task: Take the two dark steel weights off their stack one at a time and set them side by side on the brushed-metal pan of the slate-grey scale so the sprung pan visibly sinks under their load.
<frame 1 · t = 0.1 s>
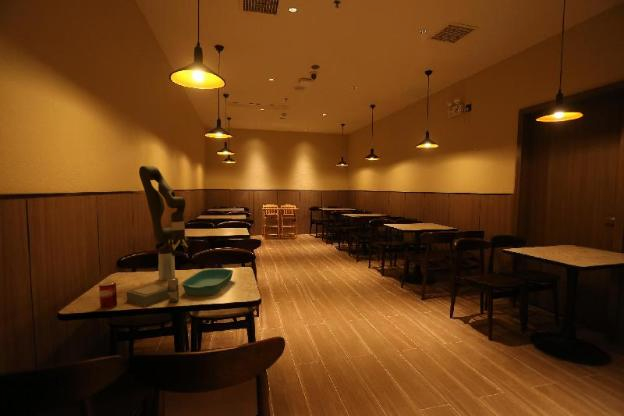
hand: (179, 254, 198), 17 cm above the table, tool pointing down, fingers open, 8 cm apart
scale pan: (150, 290, 168), point 4 cm above the table, slide at -0.8 cm
soda can: (108, 307, 158), on the table
casserole dish: (209, 288, 186), on the table
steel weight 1: (173, 290, 164), point 6 cm above the table, touching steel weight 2
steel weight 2: (173, 301, 164), on the table, touching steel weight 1
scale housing: (150, 298, 169), on the table
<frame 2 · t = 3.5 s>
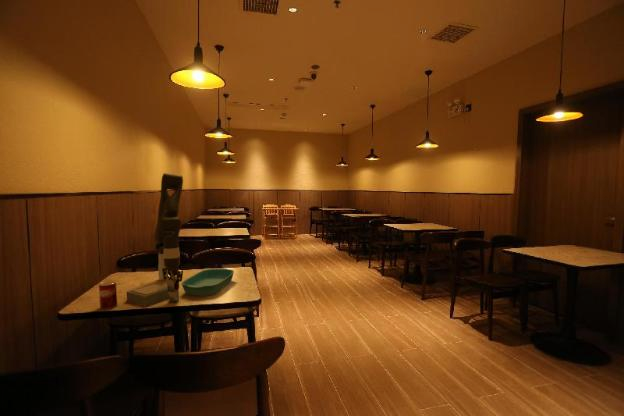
hand: (173, 288, 163), 7 cm above the table, tool pointing down, fingers closed on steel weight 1, 5 cm apart
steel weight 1: (173, 290, 164), point 6 cm above the table, touching gripper, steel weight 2
everything else where it was.
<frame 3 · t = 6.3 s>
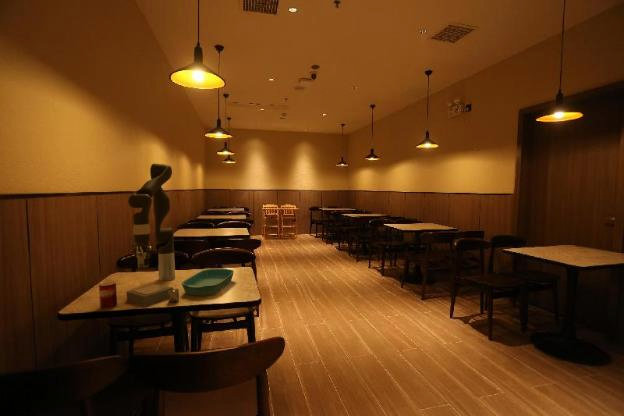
hand: (143, 264, 165), 19 cm above the table, tool pointing down, fingers closed on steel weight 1, 5 cm apart
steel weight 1: (143, 266, 165), point 18 cm above the table, touching gripper
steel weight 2: (173, 301, 164), on the table
everything else where it was.
when the fingers open (8 cm above the table, at t = 8.7 s): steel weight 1 drops 2 cm, resting on scale pan.
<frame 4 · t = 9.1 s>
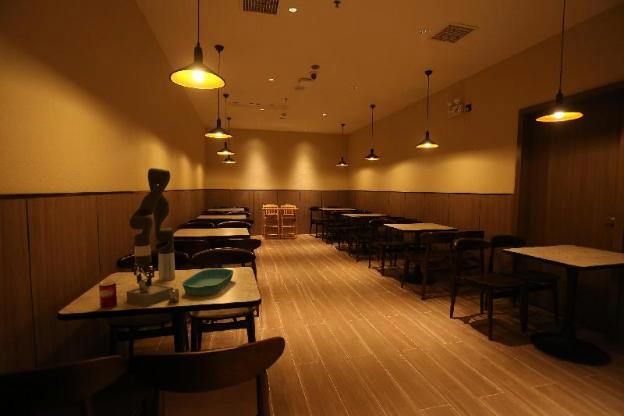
hand: (144, 284, 166), 9 cm above the table, tool pointing down, fingers open, 8 cm apart
scale pan: (150, 291, 169), point 4 cm above the table, slide at -1.3 cm, touching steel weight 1
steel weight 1: (144, 291, 166), point 5 cm above the table, touching scale pan
everything else where it was.
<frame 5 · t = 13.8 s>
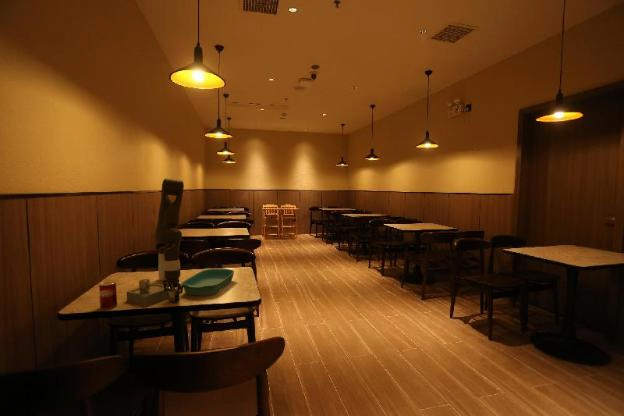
hand: (173, 300, 164), 1 cm above the table, tool pointing down, fingers closed on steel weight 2, 5 cm apart
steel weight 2: (173, 301, 164), on the table, touching gripper
everything else where it was.
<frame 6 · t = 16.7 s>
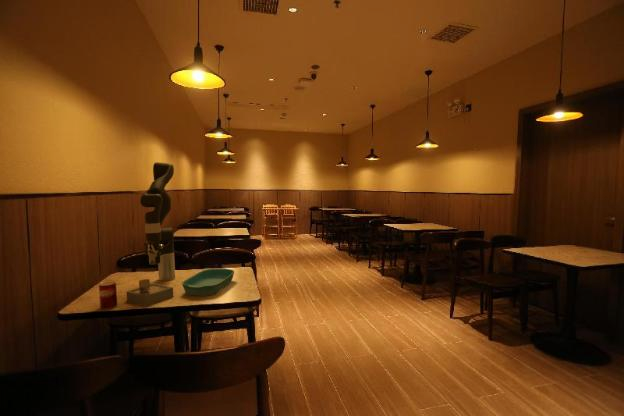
hand: (154, 262, 170), 19 cm above the table, tool pointing down, fingers closed on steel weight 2, 5 cm apart
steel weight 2: (154, 263, 170), point 18 cm above the table, touching gripper
everything else where it was.
when the fingers open (7 cm above the table, at t = 19.6 s): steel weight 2 drops 2 cm, resting on scale pan.
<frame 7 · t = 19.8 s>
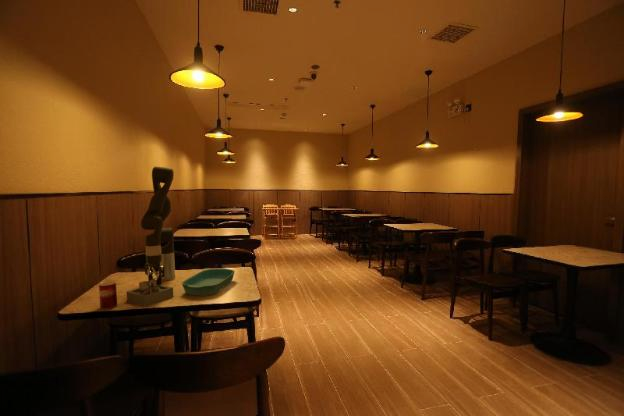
hand: (155, 283, 171), 7 cm above the table, tool pointing down, fingers open, 7 cm apart
scale pan: (150, 293, 169), point 3 cm above the table, slide at -2.3 cm, touching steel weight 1, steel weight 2
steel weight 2: (155, 290, 171), point 4 cm above the table, touching scale pan
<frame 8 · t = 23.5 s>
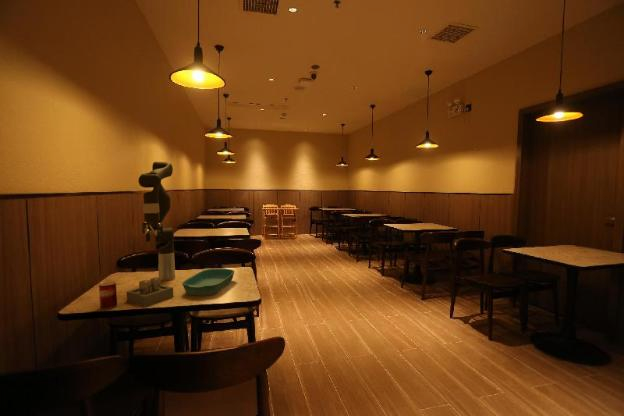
hand: (153, 242, 169), 30 cm above the table, tool pointing down, fingers open, 8 cm apart
scale pan: (150, 292, 169), point 3 cm above the table, slide at -1.9 cm, touching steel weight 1, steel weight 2
everything else where it was.
at the end: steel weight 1 inside the target area on the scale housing (3.0 cm from its centre), point 4.1 cm above the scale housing's base; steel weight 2 inside the target area on the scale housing (3.0 cm from its centre), point 4.1 cm above the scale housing's base; scale pan slide at -1.9 cm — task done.
